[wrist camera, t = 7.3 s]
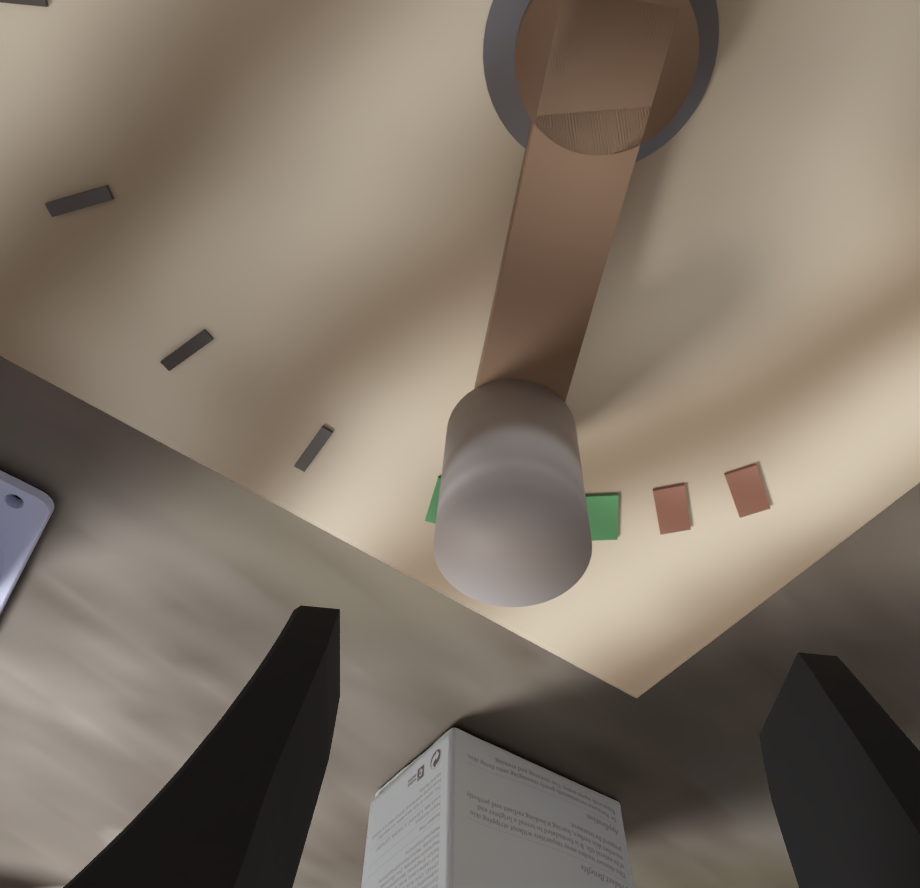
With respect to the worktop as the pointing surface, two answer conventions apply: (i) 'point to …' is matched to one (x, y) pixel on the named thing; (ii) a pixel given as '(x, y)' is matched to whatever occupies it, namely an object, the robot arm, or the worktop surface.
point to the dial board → (479, 279)
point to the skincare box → (491, 825)
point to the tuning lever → (553, 291)
